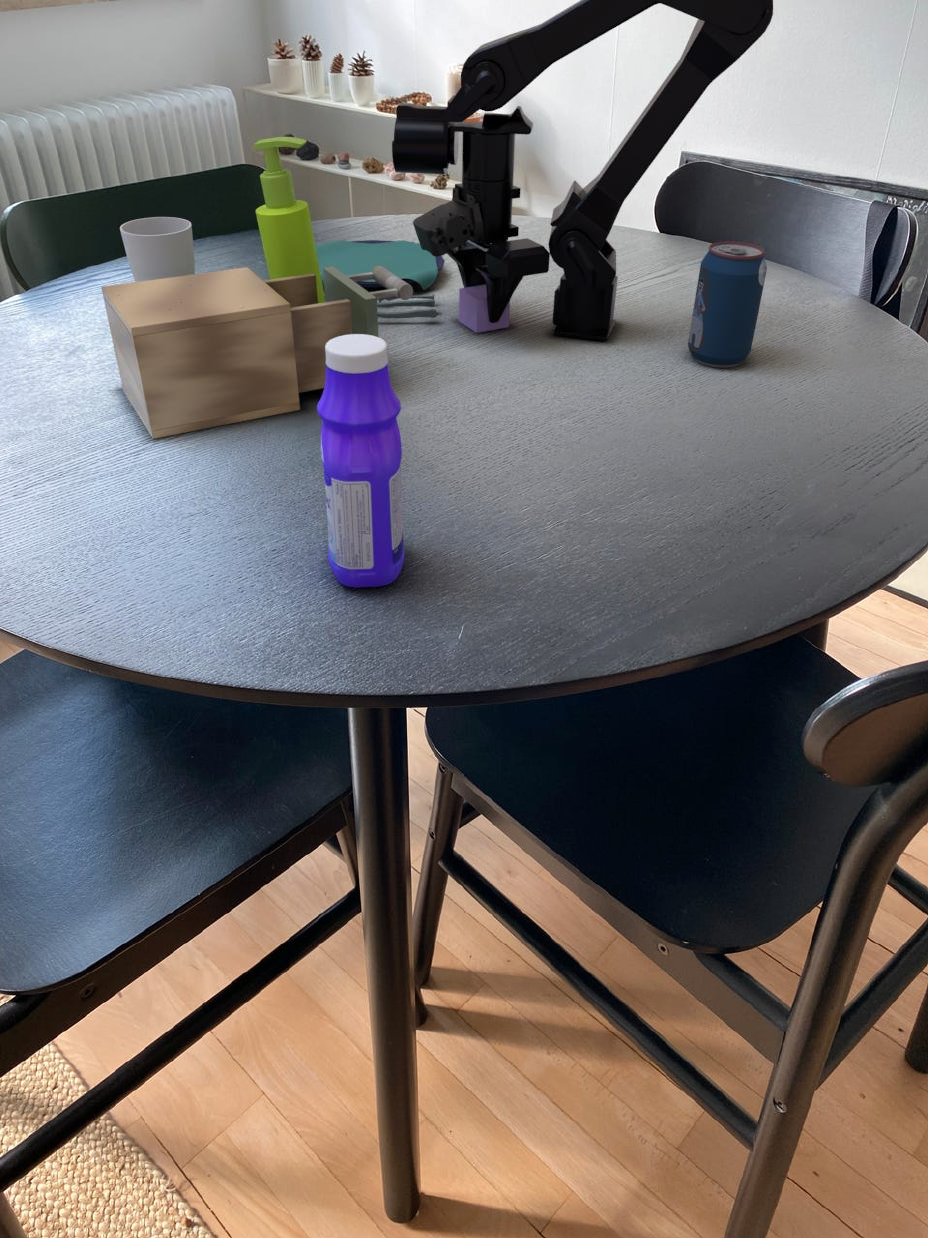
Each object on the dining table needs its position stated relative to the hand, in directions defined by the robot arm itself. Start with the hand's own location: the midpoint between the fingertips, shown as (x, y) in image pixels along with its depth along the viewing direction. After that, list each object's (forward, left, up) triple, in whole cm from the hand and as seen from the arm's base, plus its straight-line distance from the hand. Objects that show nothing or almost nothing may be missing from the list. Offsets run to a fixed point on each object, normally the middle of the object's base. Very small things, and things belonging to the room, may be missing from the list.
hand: (483, 315), depth 114 cm
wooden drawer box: (+20, +30, -1) cm, 37 cm away
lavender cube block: (0, 0, -1) cm, 1 cm away
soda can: (-28, +2, -1) cm, 28 cm away
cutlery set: (+18, -9, -1) cm, 20 cm away
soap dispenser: (+20, +7, -1) cm, 21 cm away
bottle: (-6, +54, -1) cm, 54 cm away
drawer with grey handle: (+12, +22, 0) cm, 25 cm away
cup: (+38, +8, -1) cm, 39 cm away
